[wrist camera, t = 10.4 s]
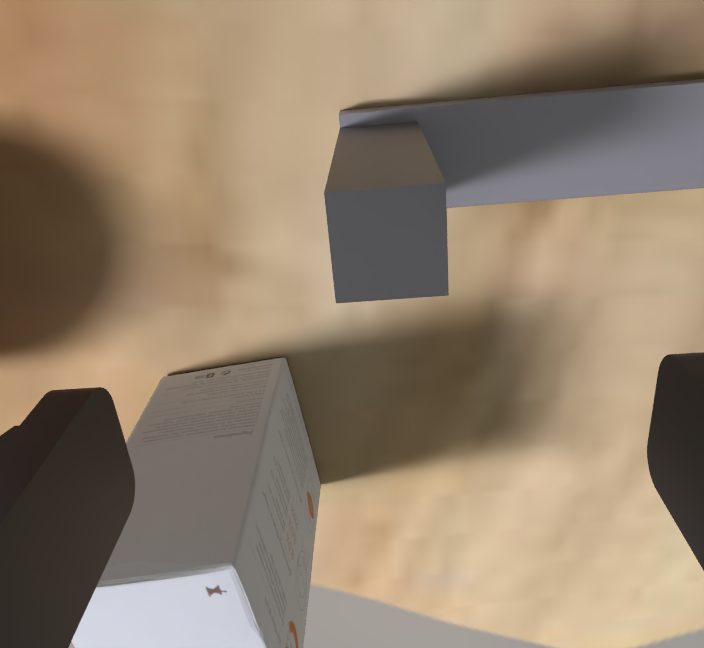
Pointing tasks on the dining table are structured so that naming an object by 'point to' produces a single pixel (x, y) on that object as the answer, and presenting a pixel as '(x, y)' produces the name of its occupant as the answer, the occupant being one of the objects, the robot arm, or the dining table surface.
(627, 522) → the dining table surface
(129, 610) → the small box
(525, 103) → the grey l-shaped bracket
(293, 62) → the dining table surface
